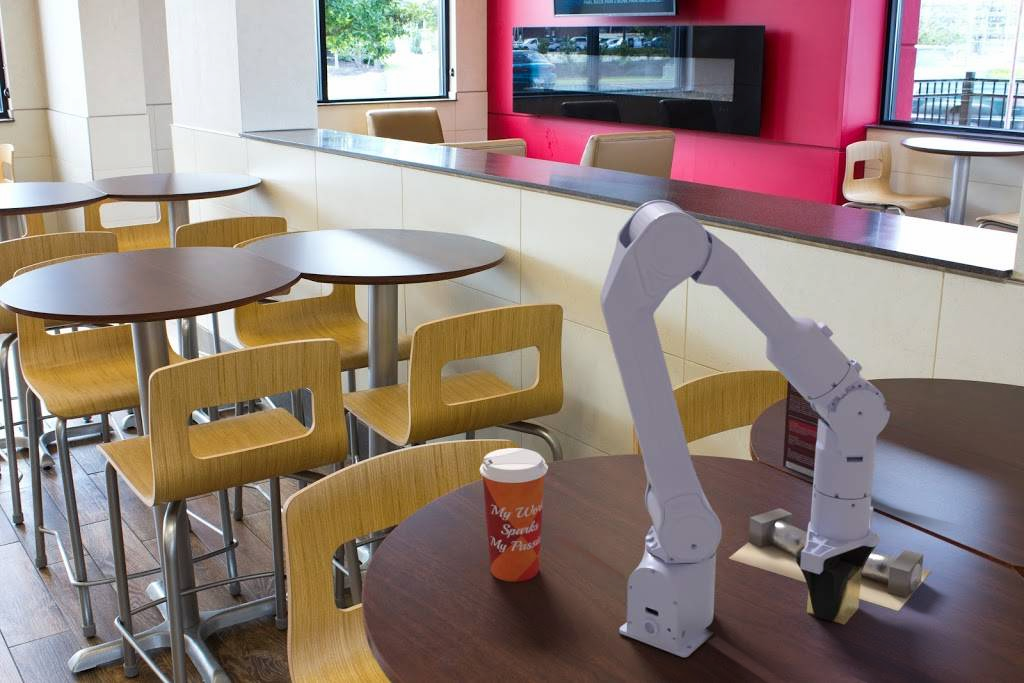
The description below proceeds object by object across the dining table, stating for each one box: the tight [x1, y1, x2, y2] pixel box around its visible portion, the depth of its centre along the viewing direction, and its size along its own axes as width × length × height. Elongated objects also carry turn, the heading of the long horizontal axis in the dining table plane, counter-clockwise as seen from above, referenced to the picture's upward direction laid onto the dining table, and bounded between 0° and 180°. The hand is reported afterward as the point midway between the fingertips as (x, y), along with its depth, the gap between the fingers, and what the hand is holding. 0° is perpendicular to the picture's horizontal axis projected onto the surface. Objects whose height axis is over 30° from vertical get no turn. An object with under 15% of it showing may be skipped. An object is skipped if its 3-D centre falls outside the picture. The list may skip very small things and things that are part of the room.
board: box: [727, 507, 932, 612], centre depth 117 cm, size 11×20×4 cm, turn 51°
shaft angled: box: [768, 520, 807, 556], centre depth 121 cm, size 6×3×3 cm, turn 31°
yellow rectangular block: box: [806, 565, 862, 625], centre depth 107 cm, size 4×4×6 cm
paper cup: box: [479, 447, 549, 583], centre depth 117 cm, size 8×8×14 cm
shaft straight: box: [861, 550, 921, 592], centre depth 113 cm, size 6×3×3 cm, turn 51°
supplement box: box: [782, 380, 824, 479], centre depth 142 cm, size 9×5×16 cm, turn 34°
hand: (832, 608), depth 107 cm, fingers closed on yellow rectangular block, 4 cm apart
